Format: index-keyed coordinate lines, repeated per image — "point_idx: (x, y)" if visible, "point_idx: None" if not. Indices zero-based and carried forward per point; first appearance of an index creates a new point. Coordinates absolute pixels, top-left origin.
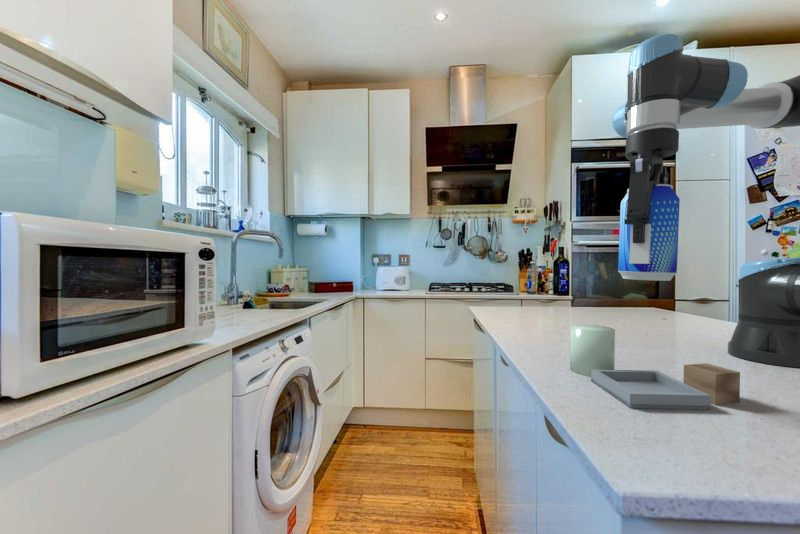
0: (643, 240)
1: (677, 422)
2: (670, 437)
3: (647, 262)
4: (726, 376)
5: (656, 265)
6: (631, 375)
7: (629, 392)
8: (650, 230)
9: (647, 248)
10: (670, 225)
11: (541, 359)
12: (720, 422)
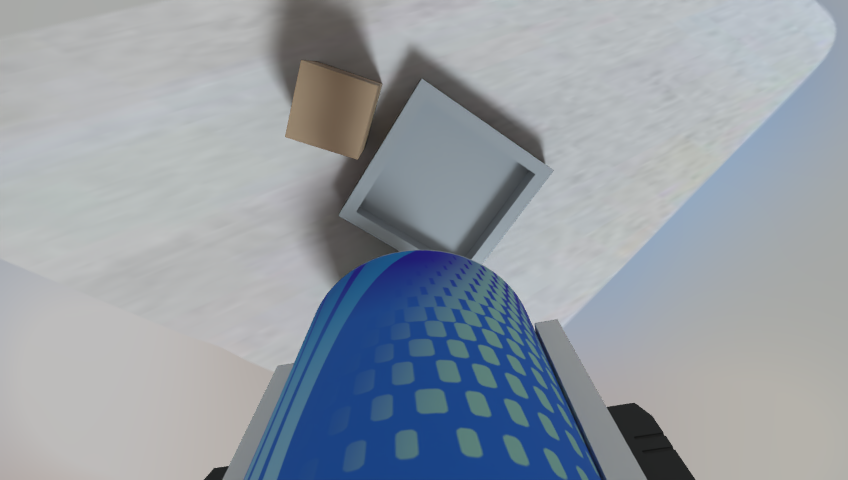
0: (627, 416)
1: (543, 87)
2: (621, 66)
3: (557, 326)
4: (345, 74)
5: (514, 300)
6: (402, 236)
7: (546, 175)
8: (610, 460)
9: (583, 373)
10: (501, 429)
11: None
12: (476, 43)
